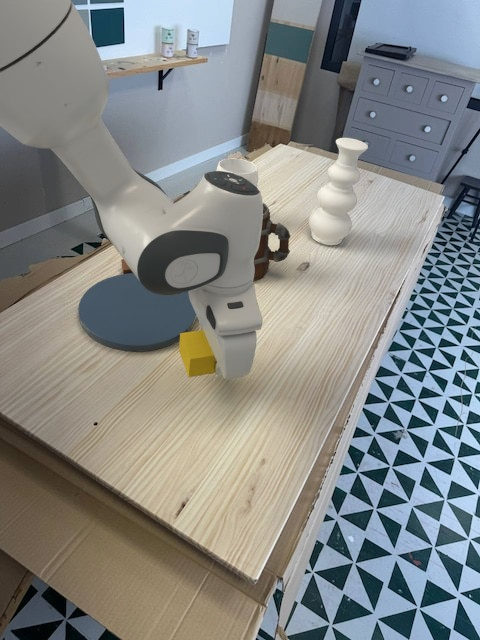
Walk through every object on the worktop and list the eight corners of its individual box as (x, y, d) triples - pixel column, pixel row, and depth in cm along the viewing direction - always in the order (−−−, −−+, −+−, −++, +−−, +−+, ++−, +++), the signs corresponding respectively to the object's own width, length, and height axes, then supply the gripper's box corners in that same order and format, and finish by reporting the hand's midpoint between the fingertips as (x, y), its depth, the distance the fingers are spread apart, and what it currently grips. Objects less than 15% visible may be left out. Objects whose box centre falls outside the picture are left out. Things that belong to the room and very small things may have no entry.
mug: (208, 273, 102) (214, 211, 93) (227, 248, 112) (234, 189, 102) (276, 293, 100) (290, 231, 90) (290, 265, 109) (303, 207, 99)
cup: (231, 208, 128) (238, 154, 118) (259, 224, 122) (268, 169, 113) (202, 218, 121) (207, 162, 112) (230, 235, 116) (237, 178, 107)
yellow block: (188, 377, 72) (190, 359, 69) (179, 351, 76) (180, 333, 73) (243, 368, 75) (246, 350, 72) (230, 343, 79) (233, 325, 76)
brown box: (123, 277, 97) (123, 269, 96) (121, 267, 100) (121, 259, 99) (142, 276, 99) (142, 268, 97) (140, 265, 101) (140, 258, 100)
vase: (328, 254, 115) (356, 154, 99) (296, 234, 121) (318, 137, 105) (355, 243, 121) (385, 147, 105) (323, 224, 127) (348, 131, 111)
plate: (85, 360, 78) (85, 354, 77) (73, 284, 94) (73, 278, 93) (210, 341, 86) (211, 335, 85) (180, 273, 101) (180, 268, 100)
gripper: (180, 249, 72) (178, 317, 81) (222, 336, 58) (213, 407, 67) (219, 246, 74) (212, 312, 83) (268, 328, 60) (253, 399, 69)
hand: (213, 355), depth 75 cm, fingers closed on yellow block, 6 cm apart
